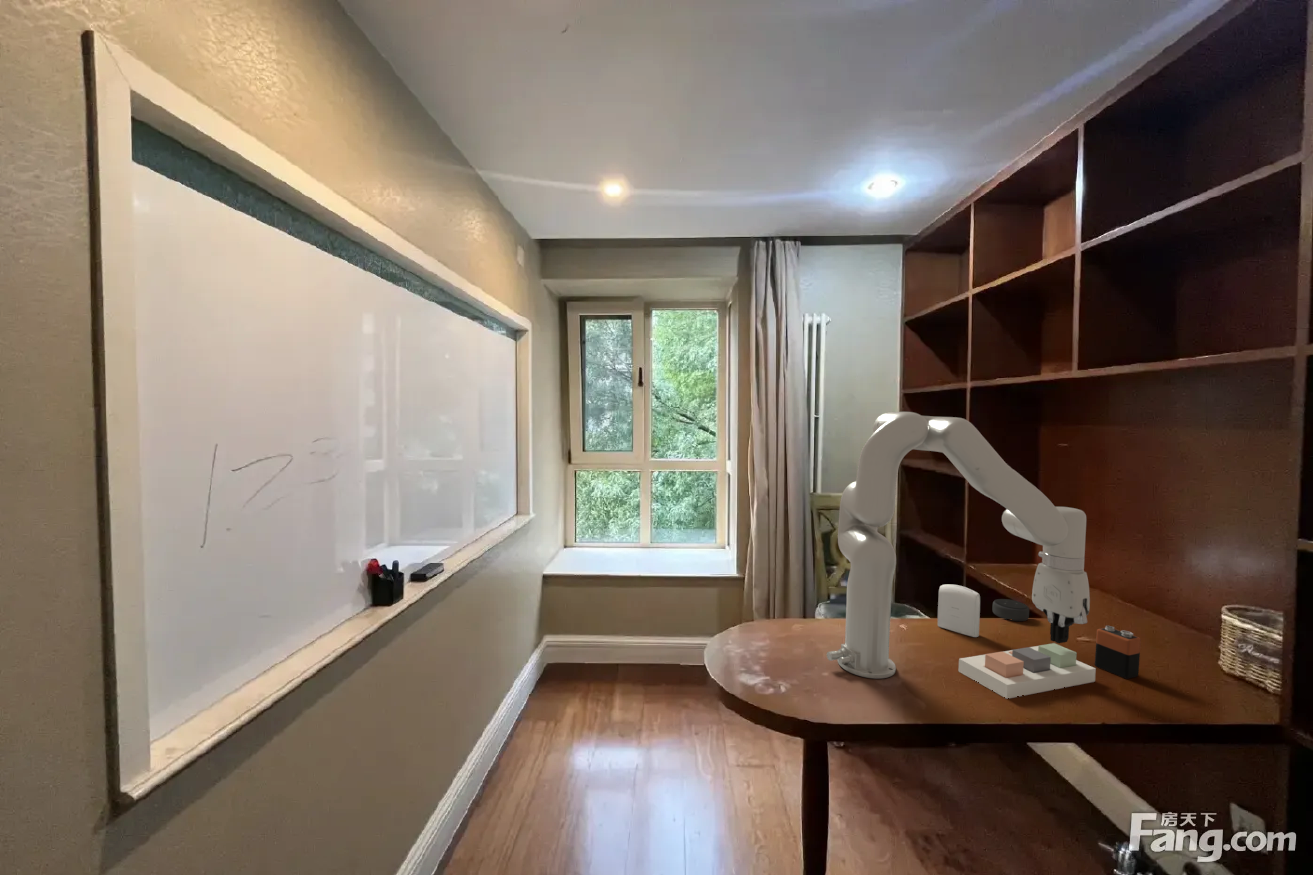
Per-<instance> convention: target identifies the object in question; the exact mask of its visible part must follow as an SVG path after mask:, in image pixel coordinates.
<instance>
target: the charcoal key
mask: <svg viewBox="0 0 1313 875" xmlns="http://www.w3.org/2000/svg"><path fill="white" fill-rule="evenodd" d="M1030 647H1031V646H1029V647H1028V646H1027V647H1022V648H1021V647H1020V648H1017V649H1011V650H1012V656H1013V657H1015V658H1017V659H1019V660H1021V661H1023V662H1024V666H1023V668H1024V669H1026V670H1028V671H1030V672H1032V673H1038V672H1043V671H1049V670H1050V661H1051V657H1050V656H1047V655H1045V654H1043V653H1041V652H1038V651H1036V650H1034V649H1032V648H1030Z"/></svg>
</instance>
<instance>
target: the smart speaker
mask: <svg viewBox="0 0 1313 875" xmlns="http://www.w3.org/2000/svg"><path fill="white" fill-rule="evenodd" d="M992 613H993V614H994V615H995V616H997V617H998V618H1000V619H1004V620H1007V619H1012V620H1010V621H1012V622H1025V621H1027V620H1029V618H1030V617H1029V616H1030V608H1029V606H1028V605H1027V604H1025V603H1023V602H1020V601H1017V600H1013V599H1008V598H998V599H994V601H993V602H992Z"/></svg>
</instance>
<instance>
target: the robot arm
mask: <svg viewBox="0 0 1313 875" xmlns="http://www.w3.org/2000/svg"><path fill="white" fill-rule="evenodd" d="M912 450H917V451H928V452H930V451H931V452H938V453H942V454H944V455H945V456H946V458H948V460H949V461H950V462H951V463H952V464H953V466H954V467H955V469H957V470H958V472H959V473H960V474H961V475H962V476H963V477H964V479H965V480H966V481H967V482H968V483H969V485H970V486H971V487H972V488H974V489H975V490H976V491H978V492H979V493H980V494H982V495H984V496H985V497H987V498H990V499H991V500H993V501H995V502H996V503H998V504H1000V506H1002V507H1004V508H1005V510H1004V511H1003V512H1002V515H1001V522H1002V523H1001V524H1002V526H1003V527H1004V528H1005V529H1006V530H1007V532H1009V533H1010V534H1011V535H1013V536H1016V537H1019V538H1021V539H1024V540H1027V541H1028V542H1029V541H1030V542H1033V543H1035V544H1036V545H1040V546H1042V551H1041V550H1040V551H1039V552H1038V557H1040V558H1041V559H1042V560H1041V562H1040V563H1038V564H1037V567H1036V570H1035V572H1034V573H1035V574H1034V578H1033V584H1032V591H1031V592H1032V594H1031V600H1032V604H1033V605H1035V607H1036V609H1038V610H1040V611H1041V612H1043V613H1044V615H1045V616H1046V617H1047V621H1048V623H1049V624H1050V628H1049V630H1050V631H1049V634H1050V641H1051V642H1054V643H1055V644H1062V643H1068V640H1069V637H1070V636H1069V635H1070V634H1069V633H1070V627H1071V626H1073V625H1074V624H1077V625H1078V624H1079V625H1085V624H1087V623H1088V617H1087V616H1088V615H1089V613H1090V608H1091V607H1090V604H1091V598H1090V596H1091V595H1090V584H1089V579H1088V573H1087V571H1085V570H1084V569H1085V555H1086V554H1085V553H1086V552H1085V551H1086V534H1087V533H1086V532H1087V515H1086V513H1085V511H1084V510H1082V509H1078V508H1074V507H1068V506H1055V505H1054V503H1052V501H1051V500H1050V499H1049V498H1048V497H1047V496H1046V495H1045V494H1044V493H1043V492H1042V491H1041V490H1040V489H1038V488H1037V487H1036V486H1035V485H1034V484H1033V483H1032V482H1030V481H1028V480H1027V479H1026V478H1025V477H1024V476H1023V475H1021V474H1020V473H1019V472H1017V471H1016V470H1015V469H1013V468H1012V467H1011V466H1010V465H1009V464H1008V463H1006V461H1004V459H1003V458H1002V457H1001V456H1000V455H999V453H998V452H997V451H996V450H995V449H994V447H993V446H992V444H990V443H989V441H988V440H987V439H986V438H985V437H984V436H983V435H982V434H981V432H980V431H979V430H978V428H977V427H975V425H974V424H973V423H972V422H970V421H968V419H965V418H962V417H956V416H955V417H953V416H930V415H921V414H919V413H917V412H913V411H889V412H885V413H882V414H880V415H879V416H878V417H877V418H876V419H875V421H874V423H873V427H872V434H871V436H870V437H869V438H868V439H867V440H866V442H865V444H864V445H863V447H862V449H861V451H860V455H859V458H858V464H857V465H858V466H857V472H856V479H855V481H853V482H851V483H849V484H848V485H847V486H846V487H845V489H844V490H843V491H842V494H841V498H840V503H839V511H838V512H839V514H838V525H837V526H838V527H837V545H838V549H839V550H840V552H841V554H842V555H843V556H844V557H845V558H846V560H848V561H849V563H850V568H849V573H848V579H847V583H846V584H847V585H846V606H845V607H846V609H845V630H844V631H845V632H844V633H845V636H844V638H845V639H844V643H840V648H839V649H837V650H831V651H827V653H826V658H827V660H828V661H832V662H833V661H837V664H838V665H839V666H840V667H841V668H842V669H843V670H845V671H847V672H848V673H850V674H853V675H856V676H859V677H863V678H868V679H885V678H889V677H892V676H893V675H895V673H896V669H897V668H896V664H895V662H894V661H893V660H892V659H891V658H889V654H890V633H891V632H890V631H891V610H892V609H891V608H892V602H891V601H892V588H893V579H894V573H895V570H896V566H897V555H896V550H895V548H894V545H893V544H892V542H891V541H890V540H889V539H888V538H887V537H885V536H884V534H883V535H882V534H881V533H879V532H878V530H879V529H878V527H884V526H886V525H887V524H889V523H890V522H891V521H892V519H893V517H894V513H895V510H896V495H897V483H898V482H897V480H898V473H899V467H900V464H901V462H902V460H903V459H904V457H905V456H906V455H907V454H908V453H909V452H910V451H912Z"/></svg>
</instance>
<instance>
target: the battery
mask: <svg viewBox="0 0 1313 875" xmlns="http://www.w3.org/2000/svg"><path fill="white" fill-rule="evenodd" d="M1095 638H1096V639H1095V640H1096V641H1095V652H1094V654H1095V657H1094V666H1095V667H1097V668H1099V669H1101V670H1104V671H1106V672H1109V673H1111V674H1113V675H1115V676H1118V677H1121V678H1122V679H1126V680H1129V679H1132V678H1136V677H1139V671H1140V659H1141V658H1140V657H1141V655H1140V654H1141V644H1142V643H1141V642H1142V639H1141V638H1140V637H1139V636H1136V635H1134V633H1133V632H1131V631H1128V630H1125V629H1124V630H1123V629H1122V630H1119V629H1115V626H1113V625H1112V626H1110V625H1105V627H1102V628H1098V629H1096V637H1095Z"/></svg>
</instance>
